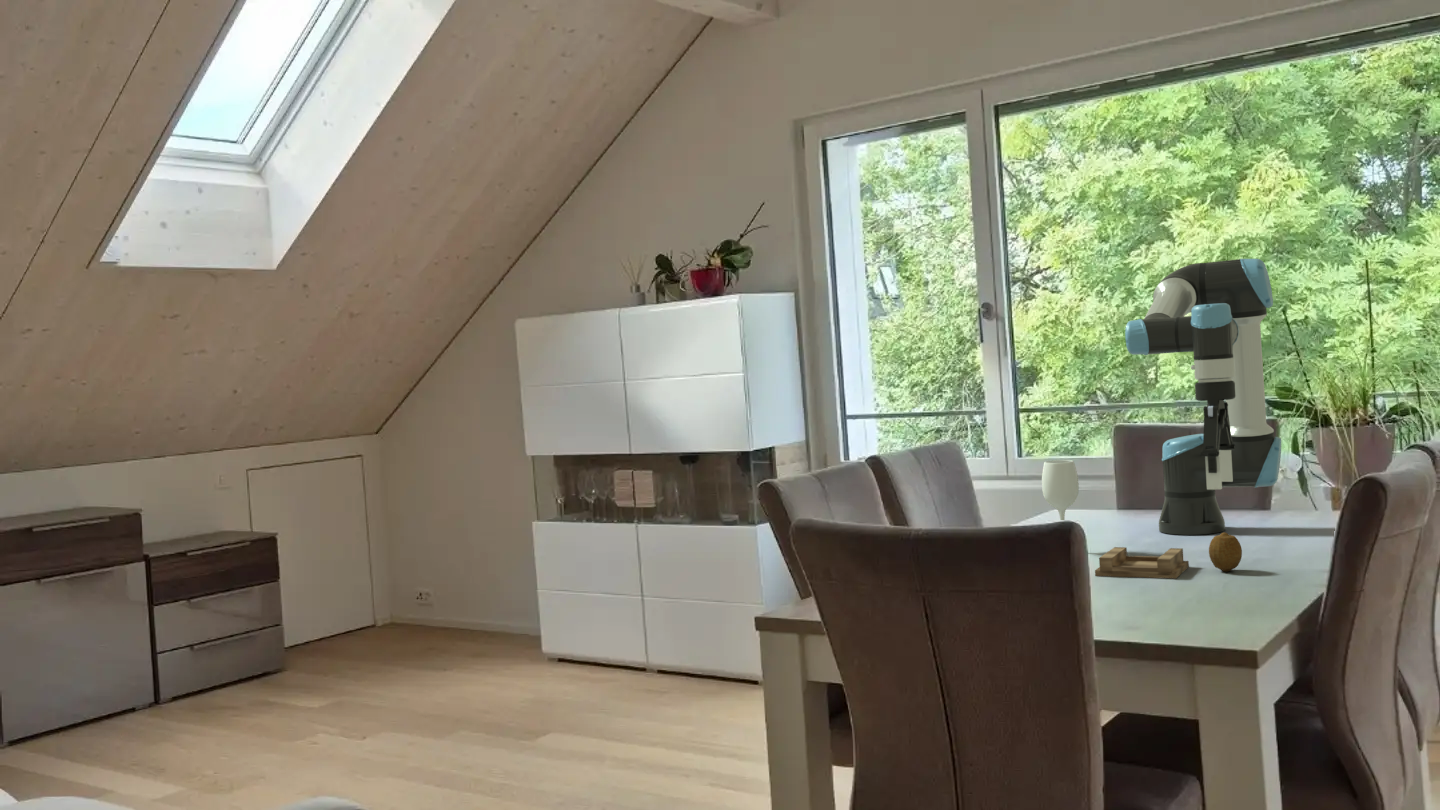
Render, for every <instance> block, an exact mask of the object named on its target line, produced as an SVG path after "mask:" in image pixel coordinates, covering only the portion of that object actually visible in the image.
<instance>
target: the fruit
mask: <svg viewBox="0 0 1440 810" xmlns="http://www.w3.org/2000/svg"><path fill="white" fill-rule="evenodd" d="M1208 556H1209V559H1210V561H1211V563H1212V565H1213V567H1215V568H1216V569H1219V570H1220V571H1221V572H1225V573H1229V572H1231V571H1232V570H1235V569H1236V568H1237V567H1239V565H1240V563H1241V561H1242V556H1243V550H1242V545H1241V543H1240V541H1239V540H1238V538H1237V537H1236V536H1235V535H1231V534H1229V533H1227V532H1226V531H1225V532H1224V531H1222V532H1220V534H1218V535H1215V536H1213V537H1212V539H1211V540H1210V542H1209V547H1208Z"/></svg>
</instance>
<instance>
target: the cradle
mask: <svg viewBox="0 0 1440 810" xmlns="http://www.w3.org/2000/svg"><path fill="white" fill-rule="evenodd" d="M1127 551H1128V549H1127V547H1123V546H1122V547H1121V546H1119V547H1116V546H1114V547H1112V548H1111V549H1110V550H1109V551H1107V552H1105V553H1104V554H1103V555H1101V556H1099V558H1098V559H1099V561H1098V562H1099V563H1098V564H1099V567H1097V568H1096V569H1094V573H1095V574H1094V575H1095V577H1113V578H1115V577H1117V578H1118V577H1119V578H1122V577H1123V578H1143V577H1144V578H1147V579H1149V578H1150V579H1178V578H1179V576H1180V575H1182V574H1183V572H1185V571H1186V570H1187V569H1188V568H1189V567H1190V563H1189V560H1184V548H1180V547H1179V548H1177V547H1175V548H1173V547H1171V548H1168V550H1166V551H1165V552H1164V553H1163V554H1161V555H1160V556H1155V555H1154V556H1153V555H1151V556H1148V555H1147V556H1146V555H1128V552H1127Z"/></svg>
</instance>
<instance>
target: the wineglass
mask: <svg viewBox="0 0 1440 810" xmlns="http://www.w3.org/2000/svg"><path fill="white" fill-rule="evenodd" d="M1079 483H1080V482H1079V476H1078V470H1077V468H1076V464H1075V461H1074V460H1071V459H1055V460H1046V461H1044V462H1043V467H1042V473H1041V490H1042V495H1043V497H1044V500H1045V501H1046V502H1047V503H1048V504H1049V506H1051V507H1053V508H1055V509H1056V510H1057V511H1058V514H1059V521H1060V520H1065V516H1066V510H1067V509H1068V508H1069V507H1071V506H1072V505H1073V504H1074V503H1075V502H1076V500H1077V498H1078V496H1079V488H1080V487H1079V485H1080V484H1079Z"/></svg>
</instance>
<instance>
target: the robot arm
mask: <svg viewBox="0 0 1440 810" xmlns="http://www.w3.org/2000/svg"><path fill="white" fill-rule="evenodd" d="M1152 297H1153V298H1152V300H1153V302H1152V304H1151V305H1150V307H1149V309H1148V310H1147V313H1146V314H1145V317H1144V318H1143V319H1141V318H1138V319H1134V320H1128V322H1127V323H1126V326H1125V331H1124V332H1125V333H1124V334H1125V335H1124V338H1125V344H1126V345H1125V346H1126V349H1127V352H1128V353H1129V354H1131V355H1133V356H1135V355H1137V356H1138V355H1144V356H1148V355H1157V354H1158V355H1161V354H1172V353H1173V354H1174V353H1175V354H1177V353H1188V352H1189V353H1191V352H1192V353H1193V364H1192V365H1191V366H1190V368H1191V370H1193V371H1194V379H1195V380H1197V381H1198V382H1195V384H1194V392H1195V393H1194V395H1195V400H1196V401H1199V402H1205V401H1206V402H1207V404H1206V405H1205V406H1203V433H1197V434H1196V433H1195V434H1191V435H1190V434H1189V435H1184V436H1179V437H1174V438H1170V439H1167V440H1166V441H1164V442H1163V444H1162V448H1161V449H1162V458H1161V461H1162V472H1163V487H1164V489H1163V490H1164V501H1163V505H1162V509H1161V513H1160V516H1159V520H1158V530H1159V532H1160V533H1163V534H1168V535H1182V536H1185V535H1186V536H1188V535H1189V536H1190V535H1195V536H1196V535H1197V536H1199V535H1209V534H1218V533H1223V532H1224V531H1226V521H1225V518H1224V515H1223V514H1222V513H1223V512H1221V509H1220V507H1219V506H1220V505H1219V504H1218V500H1217V498H1216V497H1217V496H1216V490H1223V488H1255V489H1256V488H1260V487H1261V488H1262V487H1271V486H1274V485H1276V483H1277V481H1278V479H1279V472H1280V465H1281V456H1282V454H1281V453H1282V438H1281V437H1279V436H1275V429H1274V428H1273V427H1271V426H1270V425H1269V423H1267V411H1266V410H1267V408H1266V397H1265V395H1266V394H1265V381H1264V366H1263V363H1264V362H1263V348H1262V335H1261V334H1262V333H1261V331H1262V330H1261V322H1262V321H1263V320H1264V319H1265V317H1267V316H1268V313H1267V312H1268V311H1267V308H1268V309H1270V308H1271V307H1273V305H1274V299H1273V291H1272V285H1271V280H1270V277H1269V272H1268V268H1267V265H1266V264H1265V262H1264V261H1263V260H1261V259H1259V258H1237V259H1229V260H1221V261H1209V262H1197V263H1192V264H1191V263H1190V264H1188V265H1185V266H1182V267H1180V268H1178V269H1176V270H1174V271H1172V272H1171V273H1169V274H1168V275H1166V276H1165V277H1164V278H1162V279H1161V281H1159V283H1158V284H1157V286H1156V287H1155V289H1154V291H1153V295H1152ZM1190 313H1191V315H1187V314H1190Z"/></svg>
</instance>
